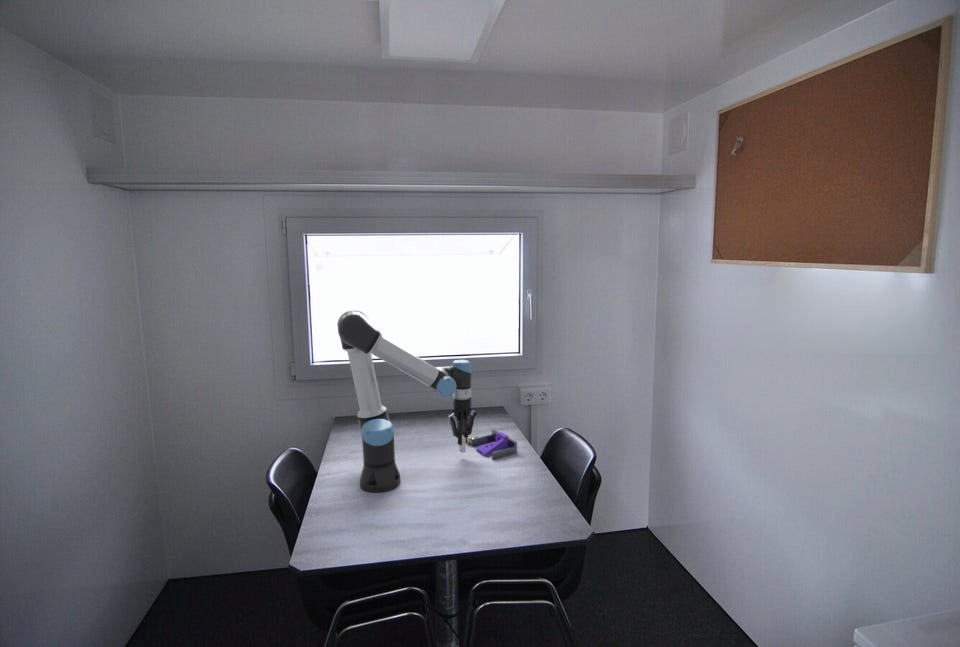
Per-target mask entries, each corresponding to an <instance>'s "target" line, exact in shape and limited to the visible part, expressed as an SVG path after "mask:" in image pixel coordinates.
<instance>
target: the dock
mask: <svg viewBox="0 0 960 647" xmlns="http://www.w3.org/2000/svg"><path fill="white" fill-rule="evenodd" d="M499 432H500V431H498V430H496V429H491V434H487V435H484V436H483V435H482V436H477V437H478V438H474V439H471V444H470V446H471V447H475V446H481V445H485V444H488V443H492V442H496V433H499ZM517 453H518V442H517V441H515V440H514V439H512V438H510V437H509V436H508V448H506V449H502V450H498V451H494V452H492V455H491V460H494V461H495V460H499V459H502V458H505V457H508V456H513V455H515V454H517Z"/></svg>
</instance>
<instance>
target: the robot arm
mask: <svg viewBox="0 0 960 647" xmlns="http://www.w3.org/2000/svg"><path fill="white" fill-rule="evenodd" d="M336 327H337V332H338V336H339V339H340V343H341V348H342V350H343V351H344V352H346V353H347V356H348V357H347V358H348V360H349V366H350V369H351V370H350V371H351V375H352V379H353V383H354V388H355V393H356V398H357V401H358V402H357V403H358V407H359V411H358V412H357V415H356V416H357V420H358V425H359V430H360V435H361V444H362V456H363V457H362V458H363V460H362V461H363V466H362V470H361V472H360V477H359V486H360V489H362V490H363V491H365V492H368V493H384V492H388V491H391V490H394V489H395V488H397V487H398V486H400V484H401V473H400V471H399V469H398V467H397V463H396V452H395V428H394V425H393V423H392V422H391V421H390V418H389V413H388V408H387V407H386V406H384V405H383V403H382V399H381V394H380V390H379V385H378V380H377V376H376V372H375V366H374V361H373V357H372V355H373V356H375V357H377V358H378V359H380V360H381V361H383V362H386V363H387V364H389V365H390V366H392V367H394V368H396V369H398V370H399V371H400V372H402V373H405V375H407V376H409V377H412V378H413V379H415V380H417V381H419V382H420V383H422V384H423V385H425V386H426V387H429V388H430V389H433V390H434V391H436V392H437V394H439V395H440V396H442V397H443V398H450V397H452V396H453V399H452V401H453V402H452V404H453V405H452V406H453V410H452V413H451V414H448V415H447V419H448V420H449V423H450V428H451V431H452V436H454V437H455V438H457V445H458V446H459V447H458V448H459V450H458V451H459V452H460V453H462V454H463V453H466V447H467V446H466V445H468V443H467V438H468V437H469V436H470V435H472V433H473V432H472V431H473V428H474V422H475V418H476V416H477V414H478V412H477V411H475V410H473V408H472V398H471V397H472V373H473V372H472V363H471V361H469V360H467V359H457V360H456V359H455V360H454V361H453V364H452V365H449V366H448V365H447V366H434V365H432V364H430V363H429V362H427V361H425V360H424V359H422V358H420V357H418V356H417V355H415V354H414V353H412V352H410V351H408V350H407V349H405V348H403V347H402V346H400V344H397V343H396V342H394V341H391V340H390V339H389V338H387V337H385V336H384V335H383V333H382V331H380V330H378V329H377V328H376V327H374V326H373V325H372V324H371V323H370V321H369V318H368V317H367V315H366V314H365V313H364V312H362V311H361V310H360V311H359V310H355V309H354V310H352V309H351V310H348V311H345V312H344V313H342V314H341V315H340V316H339V319H338V320H337V326H336ZM455 419H456V420H455Z"/></svg>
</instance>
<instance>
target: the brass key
mask: <svg viewBox="0 0 960 647" xmlns="http://www.w3.org/2000/svg"><path fill="white" fill-rule="evenodd" d="M478 437H479V436H477V435H476V436H473V437H470V436H468V437H467V445H471V439H474V438H478Z"/></svg>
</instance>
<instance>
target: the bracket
mask: <svg viewBox="0 0 960 647" xmlns="http://www.w3.org/2000/svg"><path fill="white" fill-rule="evenodd" d="M498 432H499V433H496V442H494V441H491V442H488V443H484V444H480V445H478V447H476V452H477V453H479V454H481V455H482V456H483V457H489V456H492V452H494V451H498V450H502V449H506V448H508V437H509V435H508V434H505V433H504V432H500V431H498Z"/></svg>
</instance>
